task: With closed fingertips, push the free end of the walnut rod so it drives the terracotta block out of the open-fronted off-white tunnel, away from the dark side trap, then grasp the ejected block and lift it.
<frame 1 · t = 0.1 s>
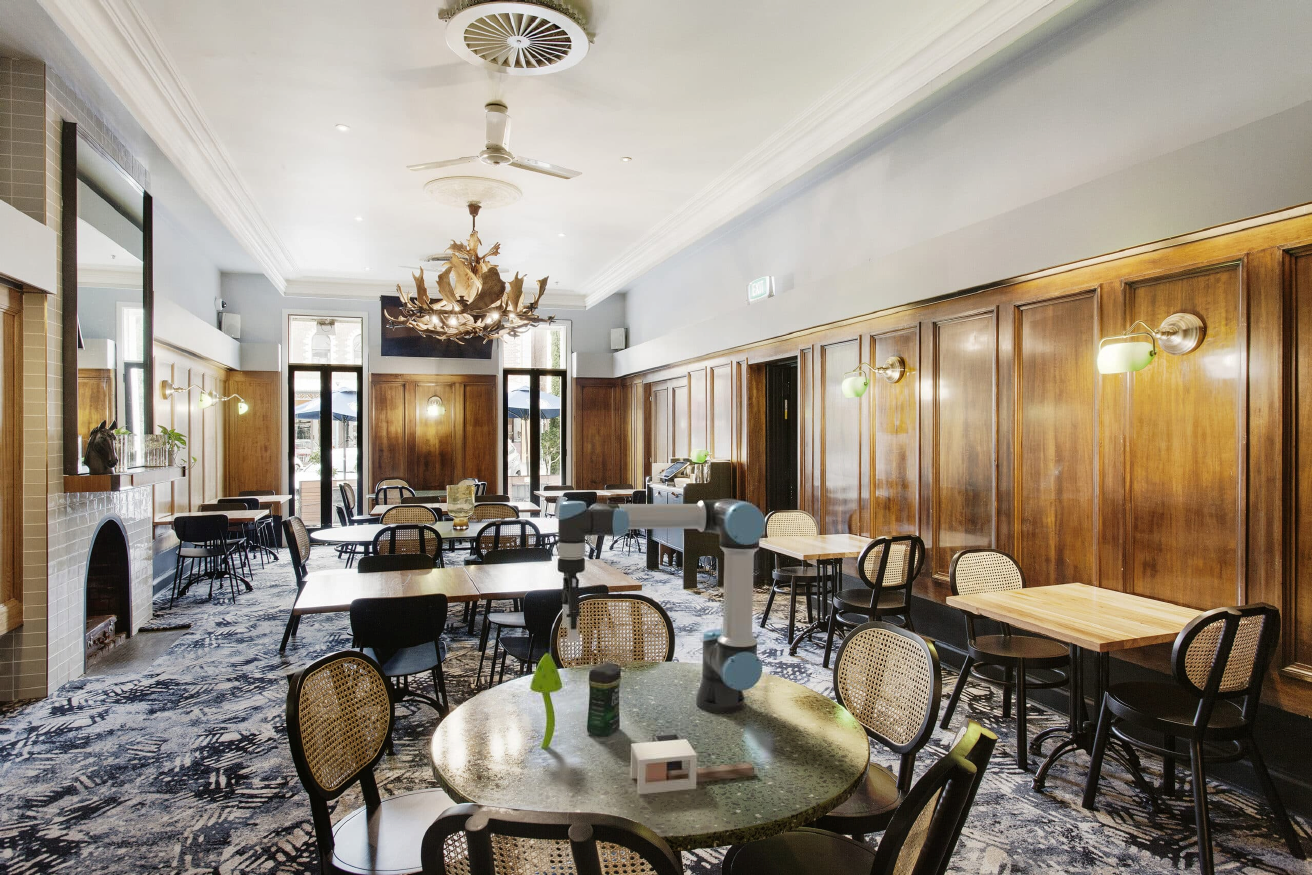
hand: (569, 633, 196), 28 cm above the table, fingers open, 13 cm apart
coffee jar: (603, 731, 199), on the table
block: (654, 783, 170), on the table
rod: (710, 779, 173), on the table
mushroom: (544, 747, 188), on the table
tunnel: (662, 782, 170), on the table
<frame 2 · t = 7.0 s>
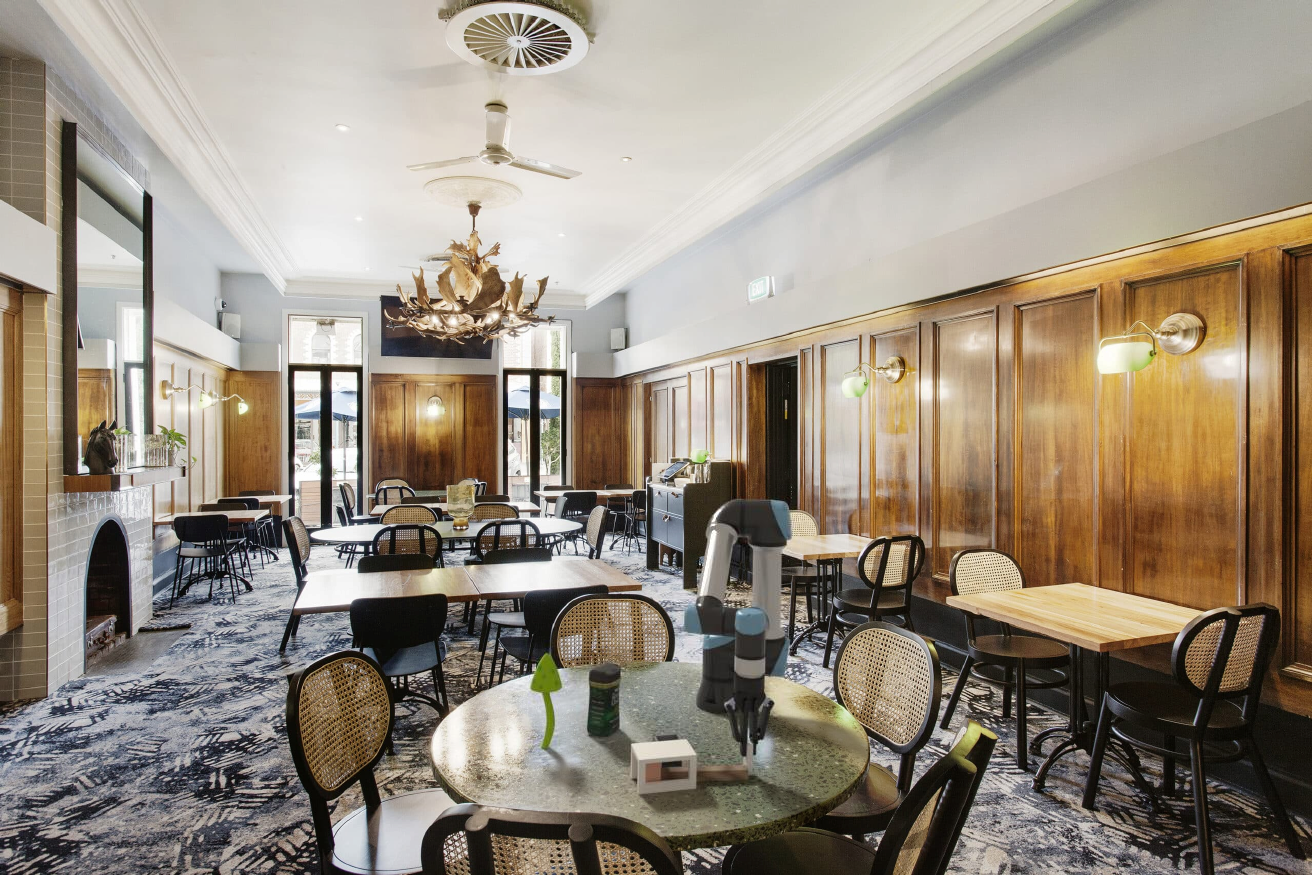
hand: (747, 768, 175), 1 cm above the table, fingers closed
block: (649, 783, 169), on the table, touching rod
rod: (702, 778, 172), on the table, touching block, gripper
everything else where it was.
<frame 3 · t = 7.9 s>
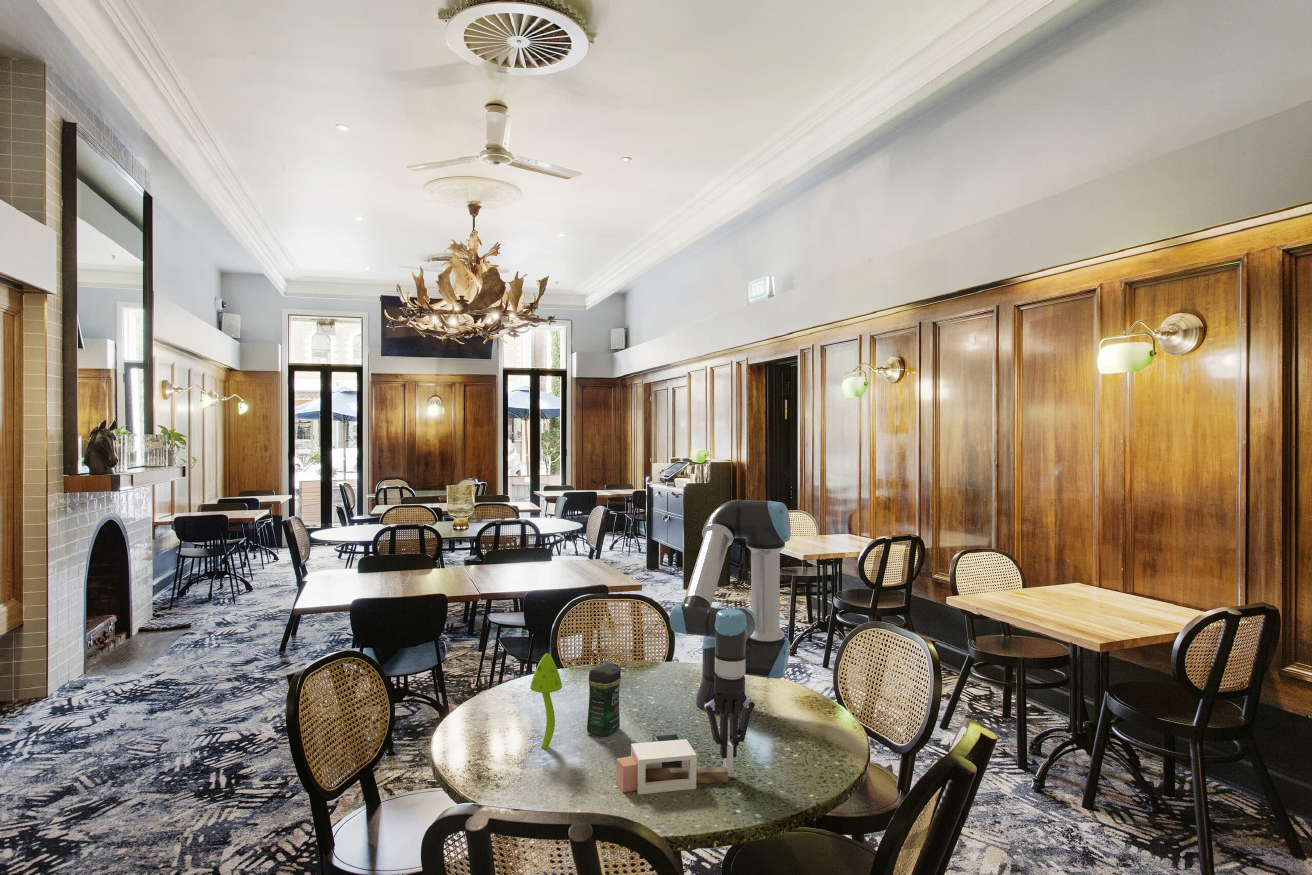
hand: (728, 770, 174), 1 cm above the table, fingers closed
block: (628, 786, 168), on the table
rod: (681, 780, 171), on the table, touching gripper
everything else where it was.
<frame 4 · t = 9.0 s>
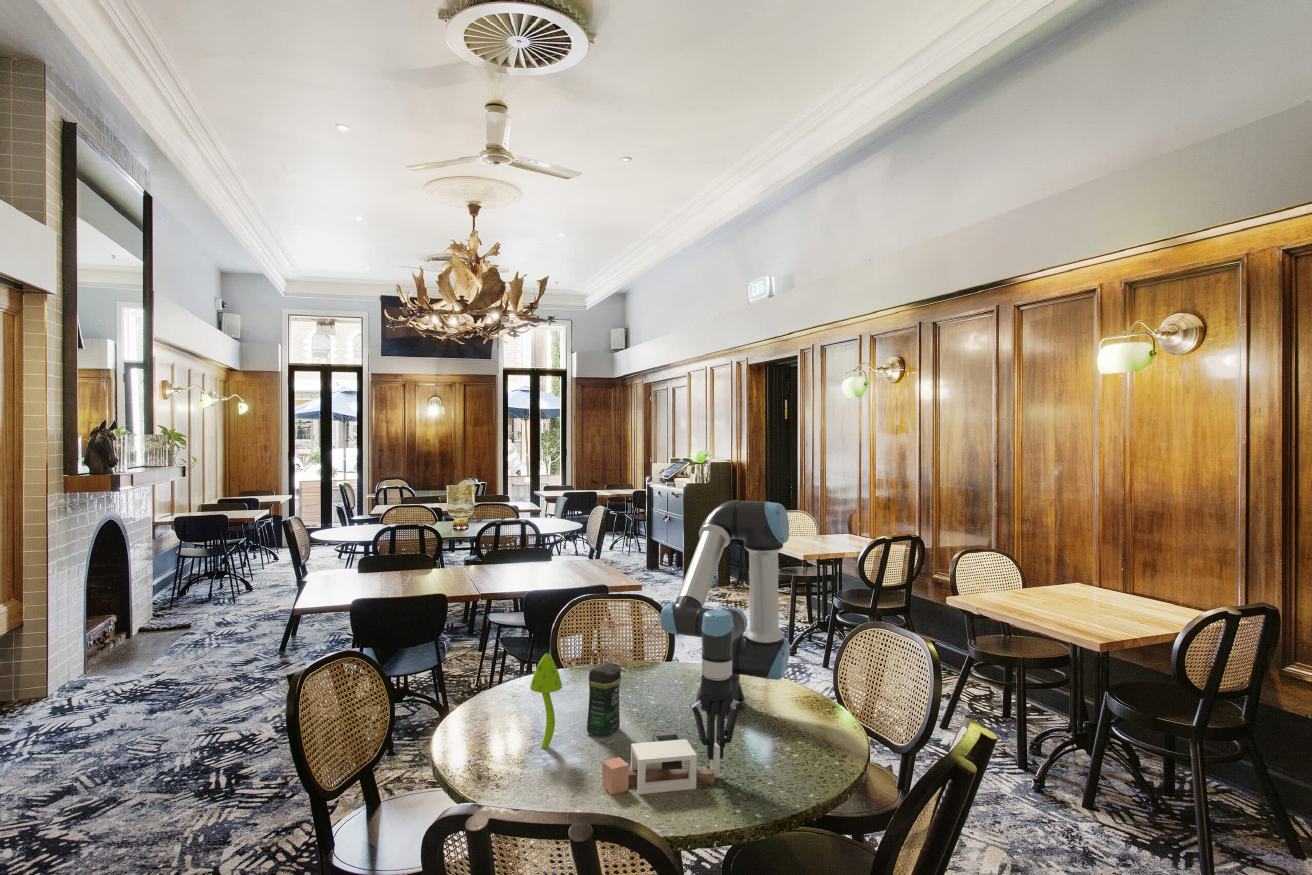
hand: (714, 771, 173), 1 cm above the table, fingers closed
block: (615, 788, 167), on the table
rod: (667, 782, 171), on the table
everything else where it was.
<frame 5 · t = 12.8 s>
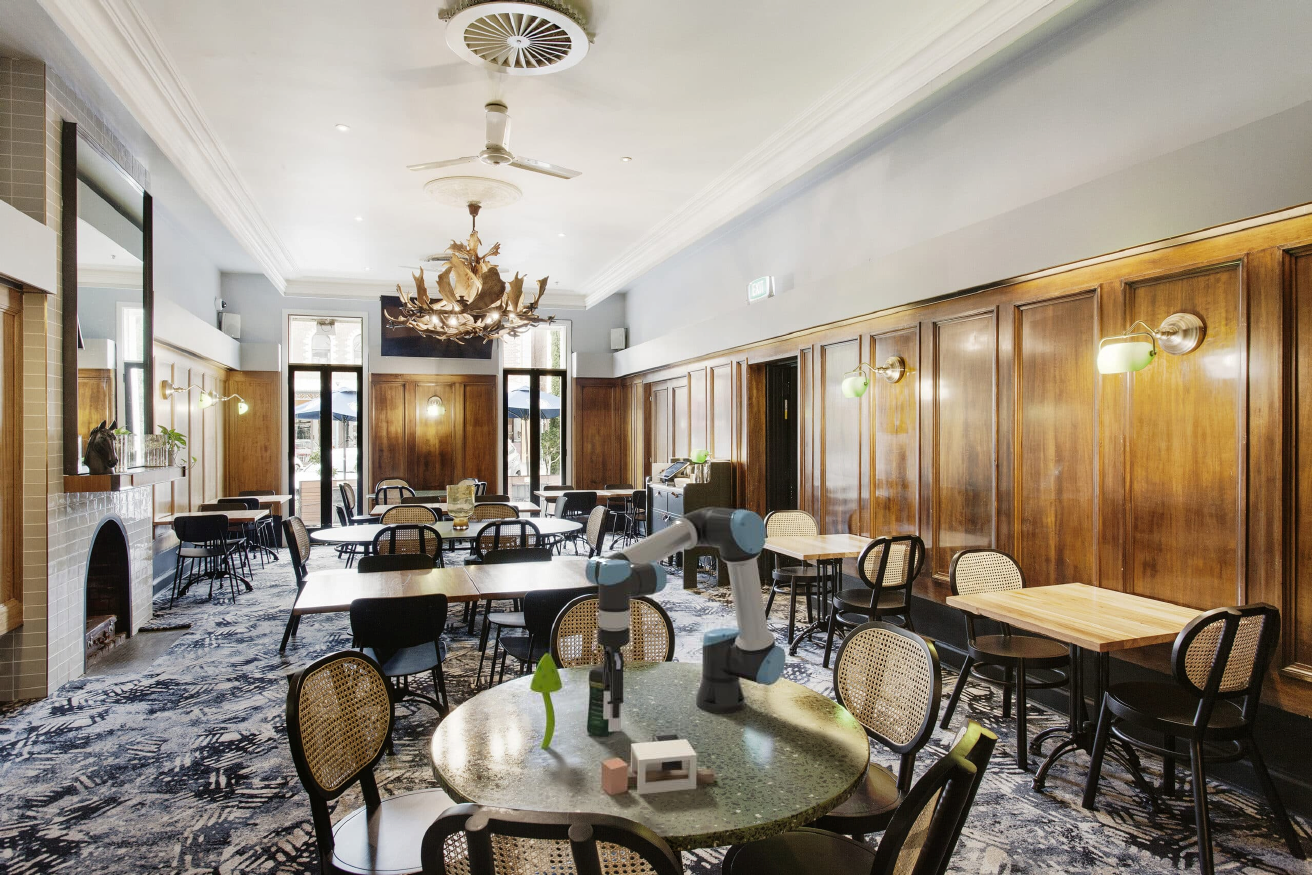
hand: (611, 723, 167), 15 cm above the table, fingers open, 7 cm apart
nothing on the table moved.
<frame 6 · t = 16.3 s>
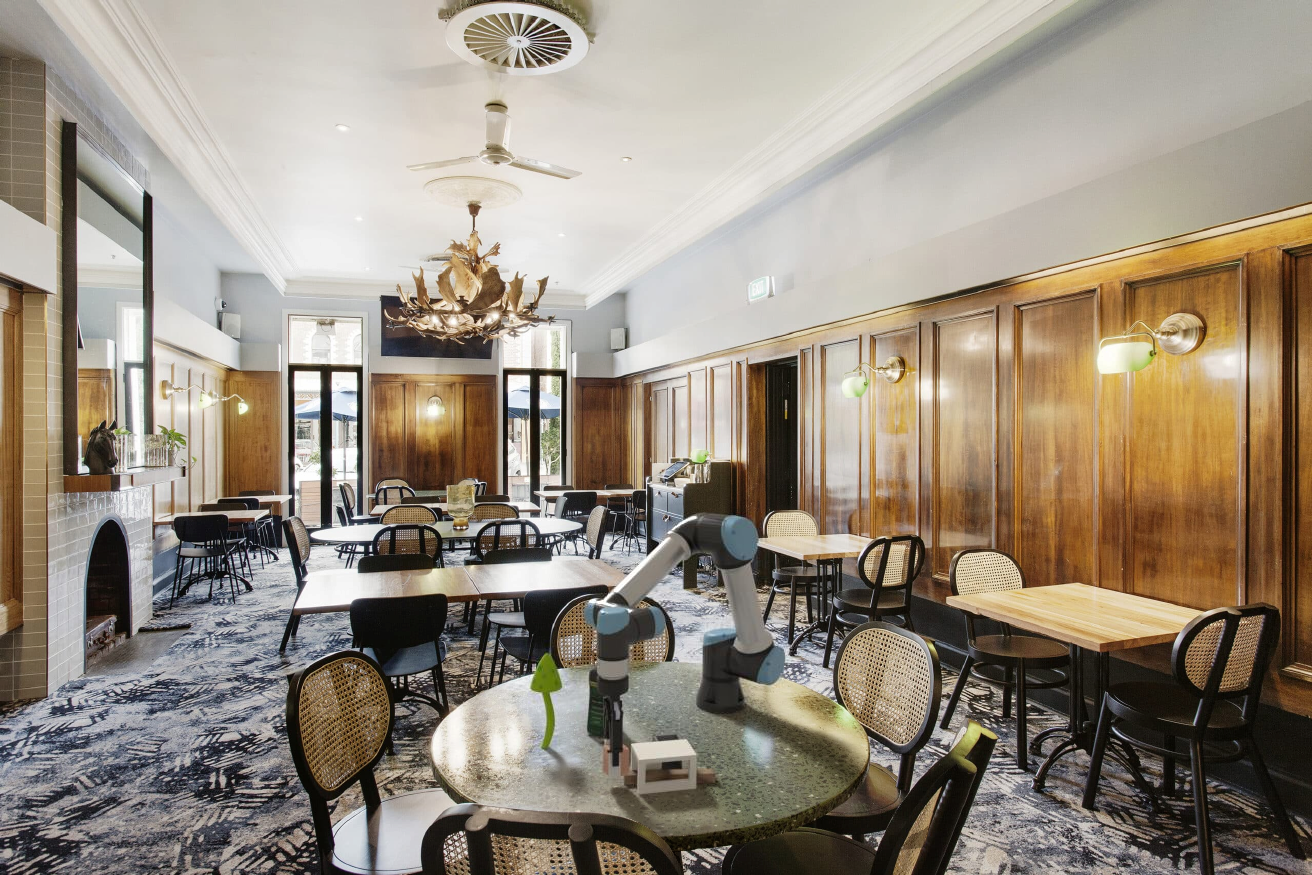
hand: (612, 771, 167), 4 cm above the table, fingers closed on block, 5 cm apart
block: (615, 772, 168), point 3 cm above the table, touching gripper
everything else where it was.
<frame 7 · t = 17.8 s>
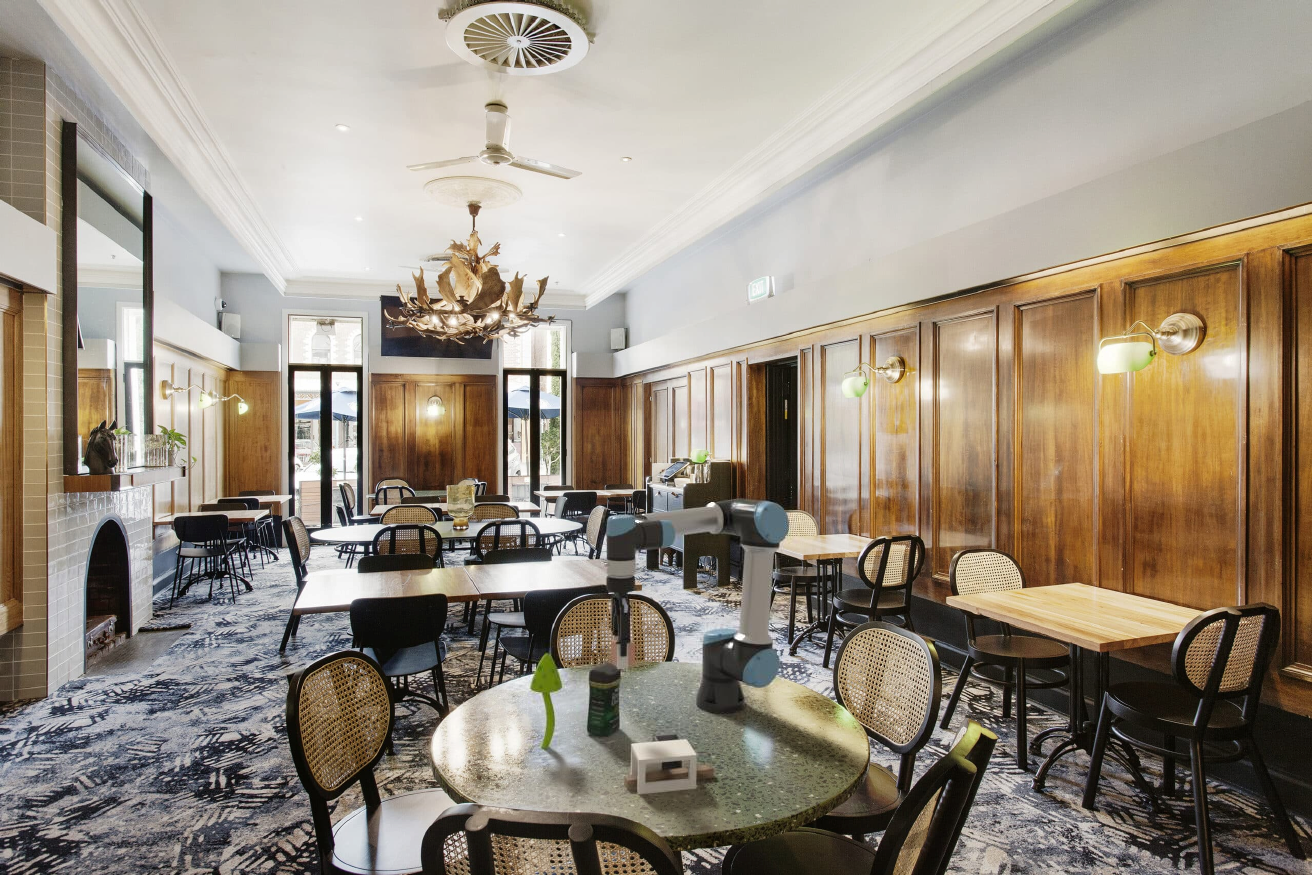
hand: (620, 664, 184), 24 cm above the table, fingers closed on block, 5 cm apart
block: (623, 664, 184), point 24 cm above the table, touching gripper
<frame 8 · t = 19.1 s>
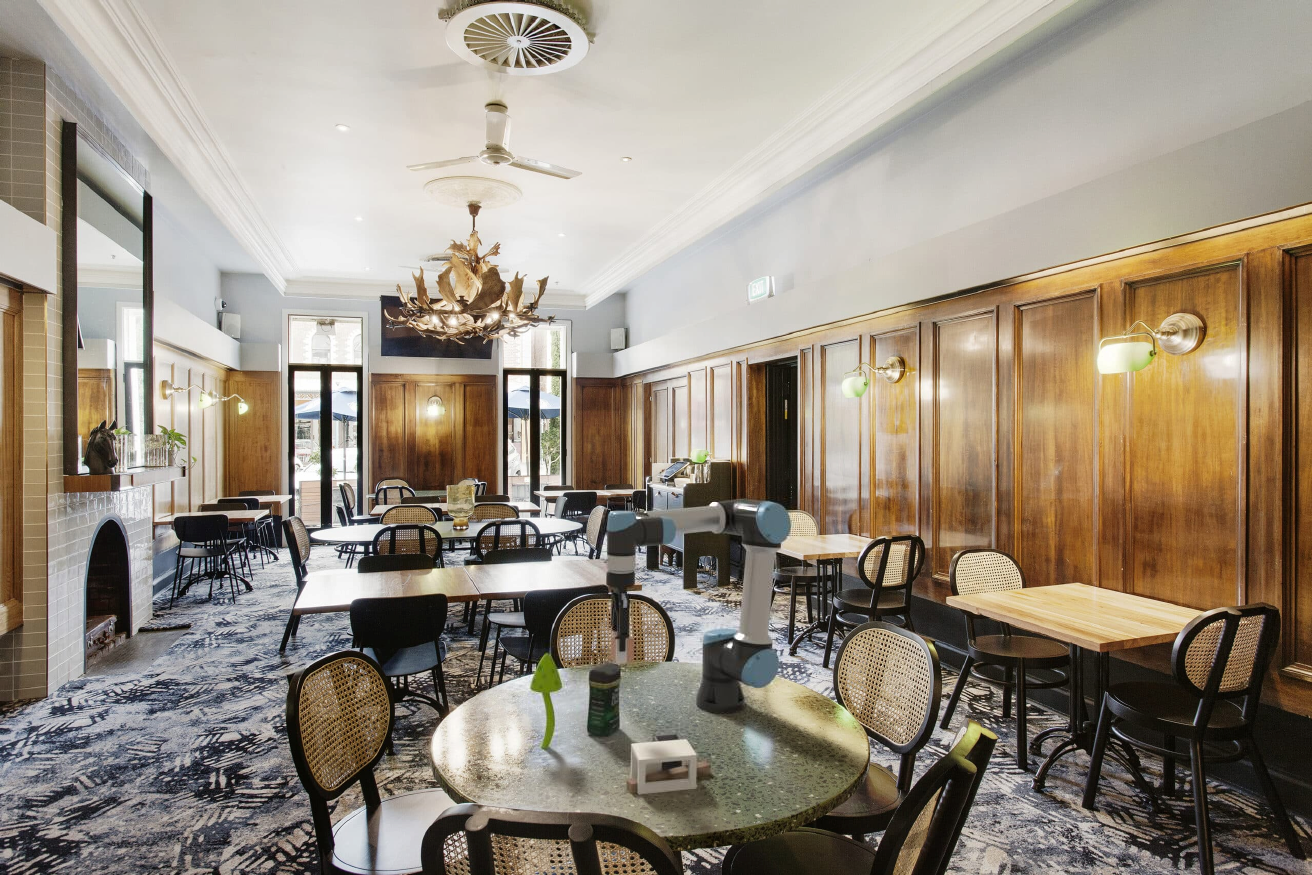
hand: (619, 659, 185), 25 cm above the table, fingers closed on block, 5 cm apart
block: (622, 659, 185), point 25 cm above the table, touching gripper
at the end: the gripper is holding block; block point 24.5 cm above the table; rod moved 10.2 cm from its start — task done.
